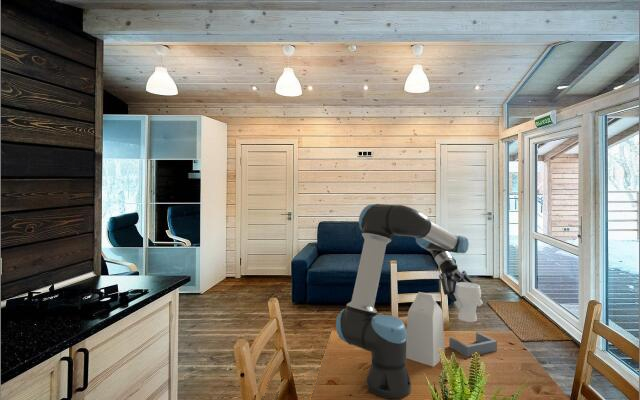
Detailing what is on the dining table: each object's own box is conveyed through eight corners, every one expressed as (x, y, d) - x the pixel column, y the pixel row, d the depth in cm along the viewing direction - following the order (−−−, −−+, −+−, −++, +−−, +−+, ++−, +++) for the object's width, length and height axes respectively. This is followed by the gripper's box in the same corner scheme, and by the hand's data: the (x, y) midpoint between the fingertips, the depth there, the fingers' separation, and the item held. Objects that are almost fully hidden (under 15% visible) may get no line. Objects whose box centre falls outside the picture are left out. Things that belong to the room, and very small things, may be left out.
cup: (475, 315, 163) (476, 282, 162) (484, 323, 152) (484, 288, 152) (451, 314, 164) (452, 281, 163) (458, 323, 153) (458, 287, 153)
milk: (444, 356, 148) (445, 293, 147) (433, 366, 139) (434, 299, 139) (416, 348, 156) (417, 288, 155) (404, 357, 147) (405, 294, 146)
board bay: (467, 357, 147) (467, 347, 147) (449, 346, 157) (449, 337, 157) (496, 350, 153) (497, 341, 153) (477, 341, 163) (477, 332, 163)
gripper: (461, 266, 177) (486, 307, 163) (422, 269, 168) (445, 313, 154) (469, 257, 172) (496, 299, 158) (429, 260, 163) (454, 305, 149)
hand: (470, 306), depth 156 cm, fingers closed on cup, 10 cm apart
